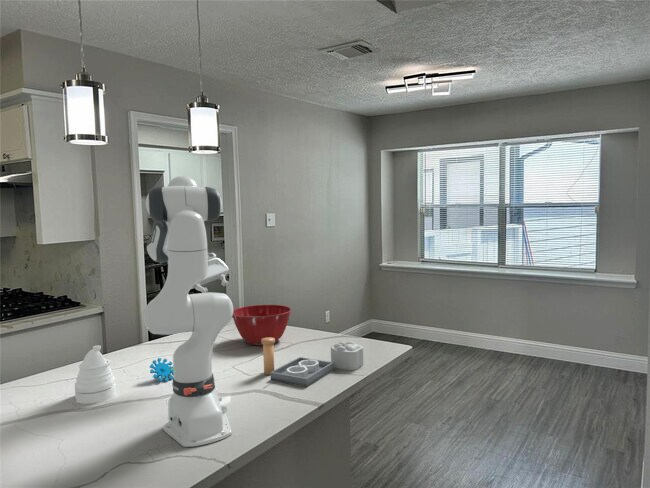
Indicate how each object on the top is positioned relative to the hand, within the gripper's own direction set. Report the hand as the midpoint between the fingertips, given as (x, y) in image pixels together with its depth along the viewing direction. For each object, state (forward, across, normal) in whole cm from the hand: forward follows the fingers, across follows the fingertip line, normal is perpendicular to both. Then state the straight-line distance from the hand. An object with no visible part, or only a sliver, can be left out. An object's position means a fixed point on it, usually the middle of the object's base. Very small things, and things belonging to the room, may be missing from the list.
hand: (216, 288), depth 181 cm
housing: (+43, +14, +12) cm, 47 cm away
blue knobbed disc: (+8, -19, +35) cm, 40 cm away
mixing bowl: (+10, +37, +45) cm, 59 cm away
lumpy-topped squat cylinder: (+50, +32, +10) cm, 60 cm away
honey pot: (+2, -43, +35) cm, 55 cm away
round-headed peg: (+33, +8, +19) cm, 39 cm away
